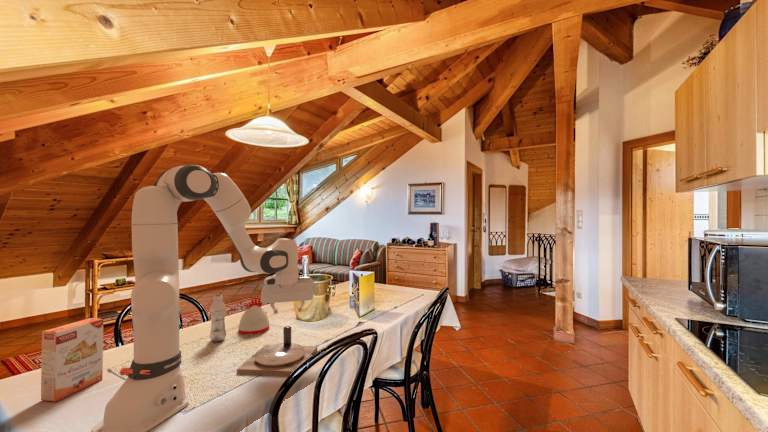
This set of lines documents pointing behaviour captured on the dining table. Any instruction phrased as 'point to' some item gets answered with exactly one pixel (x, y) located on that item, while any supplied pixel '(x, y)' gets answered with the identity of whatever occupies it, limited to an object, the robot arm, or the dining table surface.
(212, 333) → the plastic bottle
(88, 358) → the cracker box
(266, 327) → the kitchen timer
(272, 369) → the dial base
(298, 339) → the dining table surface
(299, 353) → the dial
